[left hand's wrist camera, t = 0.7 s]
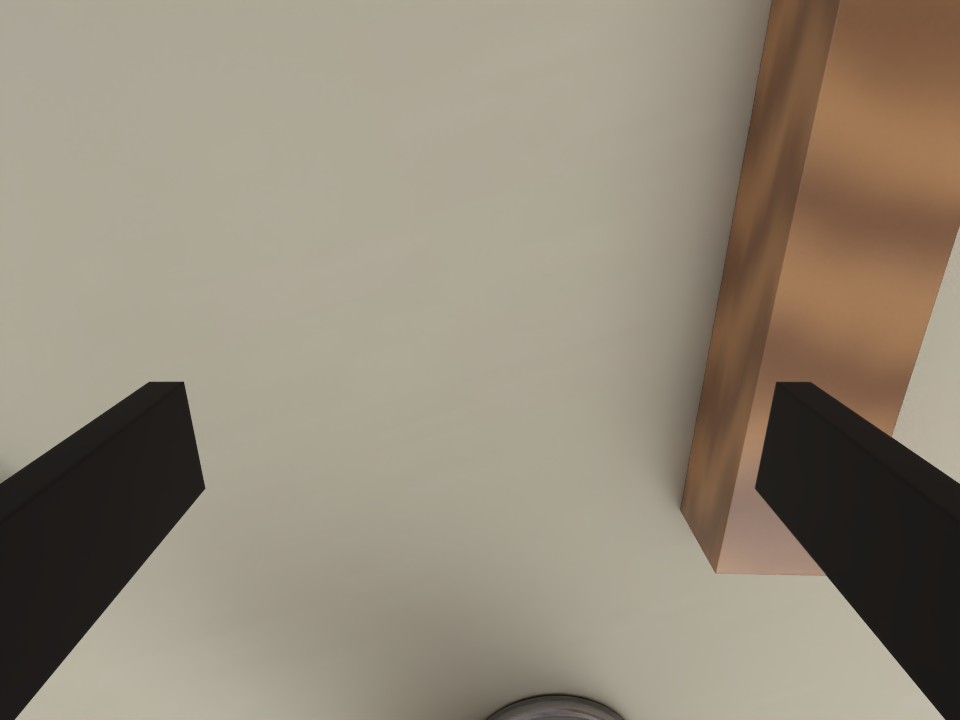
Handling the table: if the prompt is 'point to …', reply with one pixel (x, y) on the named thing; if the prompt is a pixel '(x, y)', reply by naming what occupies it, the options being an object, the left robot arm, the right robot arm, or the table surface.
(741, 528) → the slab
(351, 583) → the table surface
